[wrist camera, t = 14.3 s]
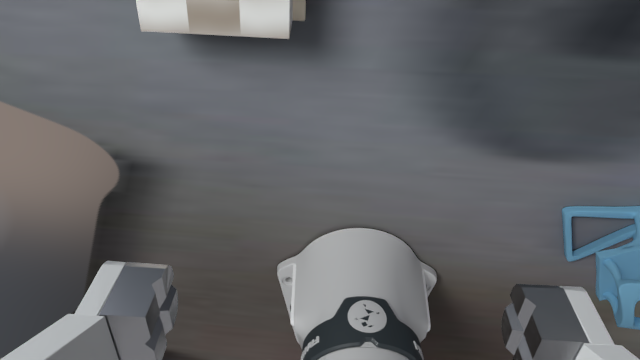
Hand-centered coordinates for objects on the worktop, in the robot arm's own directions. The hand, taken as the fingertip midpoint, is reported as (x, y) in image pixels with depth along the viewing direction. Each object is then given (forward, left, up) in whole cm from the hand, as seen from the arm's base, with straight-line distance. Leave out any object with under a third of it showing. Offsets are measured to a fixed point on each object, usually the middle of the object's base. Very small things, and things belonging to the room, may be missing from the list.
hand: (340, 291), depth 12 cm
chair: (-26, -31, -33) cm, 52 cm away
